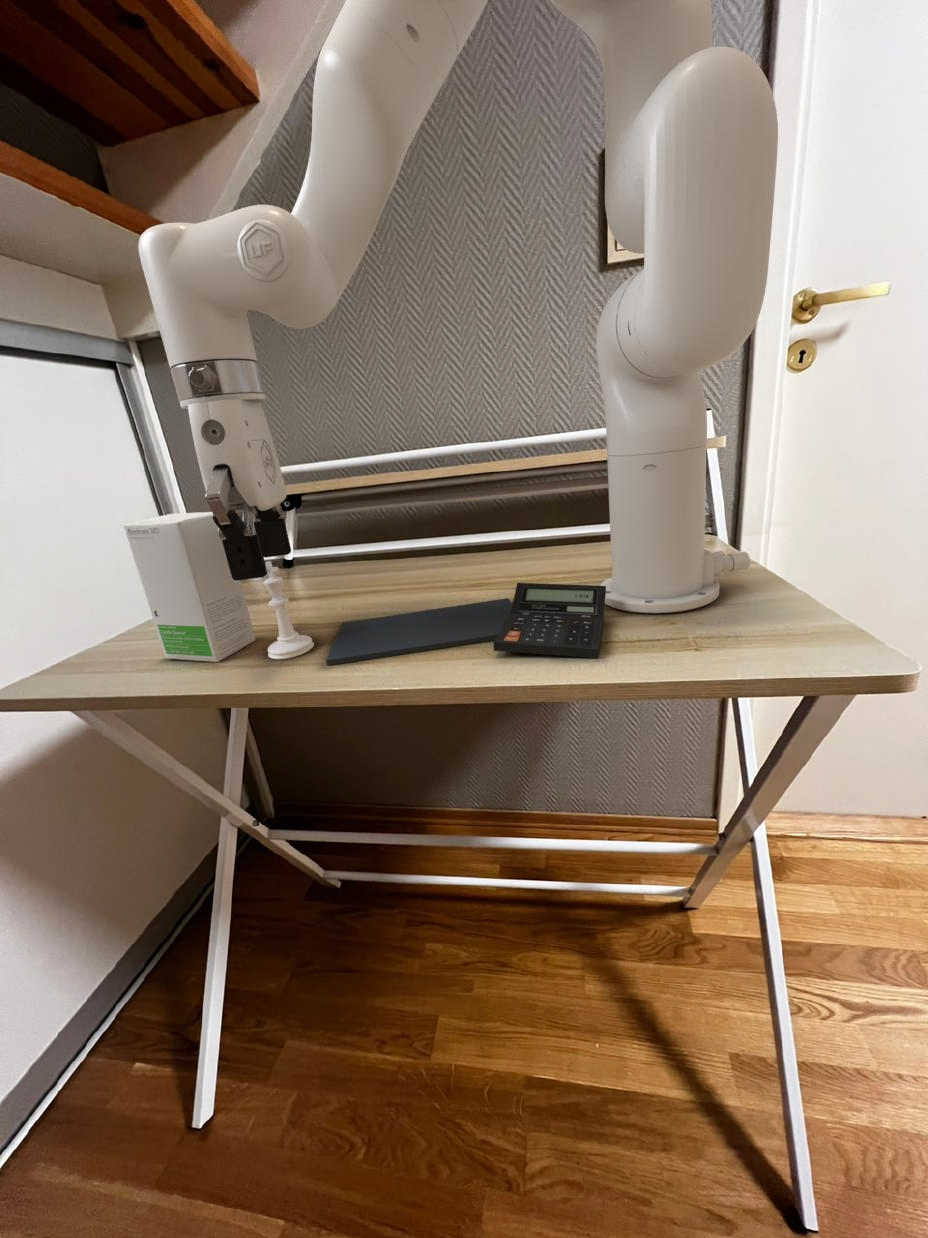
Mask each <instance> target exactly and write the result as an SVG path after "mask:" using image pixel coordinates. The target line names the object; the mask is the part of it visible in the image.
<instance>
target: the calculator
mask: <svg viewBox="0 0 928 1238" xmlns="http://www.w3.org/2000/svg"><path fill="white" fill-rule="evenodd" d="M605 596H606V586H600V585H590V584H589V585H588V584H565V583H564V584H563V583H538V582H537V583H536V582H535V583H534V582H516V587H515V591H514V596H513V601H512V603H511V605H512V609H511V613H510V615H509V617H508V618H507V620H506V622H505V624H504V625H503V627H502V629H501V630H500V632H499V634H498V635H497V637H496V639H495V640H493V642H492V643H493V651H494V652H505V653H520V654H532V655H533V654H534V655H547V656H559V657H560V656H562V657H575V658H589V659H599V654H600V646H601V641H602V634H603V628H604V618H605V617H604V616H605V606H606V604H605Z"/></svg>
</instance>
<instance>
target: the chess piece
mask: <svg viewBox="0 0 928 1238" xmlns="http://www.w3.org/2000/svg"><path fill="white" fill-rule="evenodd" d="M265 565H266V569H267V575H268V577H267V578H266V579H264V580H263V582H262V585H263V587H264V588H265V589H266V590H267V592H268V594H269V595H270V597H271V599H270V600H269V601H268V604H267V605H268V606H269V607H275V614H276V621H277V629H278V636H277V637H276V640H275V641H274V642H272V643H271V644H270V645H268V647H267V652H268V654H267V656H268V658H270V659H273V660H286V659H291V658H295V657H299V656H301V655H303V654H306V653H307V652H310V651H311V650H312V649H314V646H315V642H313V638H312V637H311V636H309V635H305V634H299V632H297V631H296V630H295V628H294V626H293V624H292V622H291V619H290V616H289V614H288V611H287V609H286V606H285V604H288V603H289V602H290V599H289V598H288V597H287V596H284V595H283V587H284V578H283V577H281V576H276V574H275V573H278V572H279V571H280V569H279V566H273V563H272V561H271V560H270V561H265Z"/></svg>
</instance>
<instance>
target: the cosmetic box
mask: <svg viewBox="0 0 928 1238" xmlns="http://www.w3.org/2000/svg"><path fill="white" fill-rule="evenodd" d="M123 528H124V532H125V534H126V537H127V541H128V543H129V547H130V551H131V554H132V557H133V560H134V562H135V566H136V569H137V572H138V575H139V578H140V581H141V585H142V588H143V592H144V594H145V598H146V601H147V604H148V608H149V611H150V613H151V617H152V620H153V624H154V626H155V630H156V632H157V636H158V639H159V640H158V641H159V642H160V645H161V649H162V652H163V655H164V658H165V659H168V660H180V661H181V660H183V661H199V662H211V663H219V662H221V661H222V660H225V659H226V658H227V657H229V656H231V655H233V654H234V653H236V652H238V651H240V650H242V649H244V648H245V647H247V646H249V645H250V644H252V643H254V642H255V641H256V636H255V632H254V627H253V624H252V620H251V615H250V612H249V608H248V604H247V601H246V600H247V599H246V595H245V592H244V588H243V583H242V580H238V581H236V580H233V578H232V576H231V572H230V569H229V565H228V561H227V558H226V554H225V550H224V547H223V543H222V540H221V539H220V537H219V534H218V526H217V525H216V524H215V523H214V520H213V513H212V511H204V512H203V511H202V512H200V511H199V512H198V511H197V512H181V513H180V512H179V513H167V514H164V515H159V516H155V517H150V518H146V519H142V520H138V521H132V522H129V523H126V524H123Z"/></svg>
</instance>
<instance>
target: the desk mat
mask: <svg viewBox="0 0 928 1238" xmlns="http://www.w3.org/2000/svg"><path fill="white" fill-rule="evenodd" d="M511 609H512V603H511V600H510V599H509V597H507V598H498V599H493V600H487V601H479V602H473V603H465V604H459V605H452V606H446V607H440V608H433V609H426V610H419V611H412V612H405V613H398V614H391V615H386V616H379V617H371V618H366V619H358V620H353V621H345V622H342V623H341V625H340V627H339V630H338V631H337V634H336V637H335V639H334V641H333V643H332V646H331V648H330V651H329V653H328V655H327V657H326V660H325V661H326V666H335V665H341V664H347V663H354V662H360V661H367V660H372V659H380V658H386V657H394V656H400V655H407V654H413V653H420V652H426V651H434V650H441V649H447V648H452V647H460V646H467V645H474V644H479V643H485V642H492V641H493V642H494V640H495V639H496V637H497V635H498V634H499V632H500V630H501V629H502V627H503V625H504V624H505V622H506V620H507V618H508V617H509V615H510V613H511Z"/></svg>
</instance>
